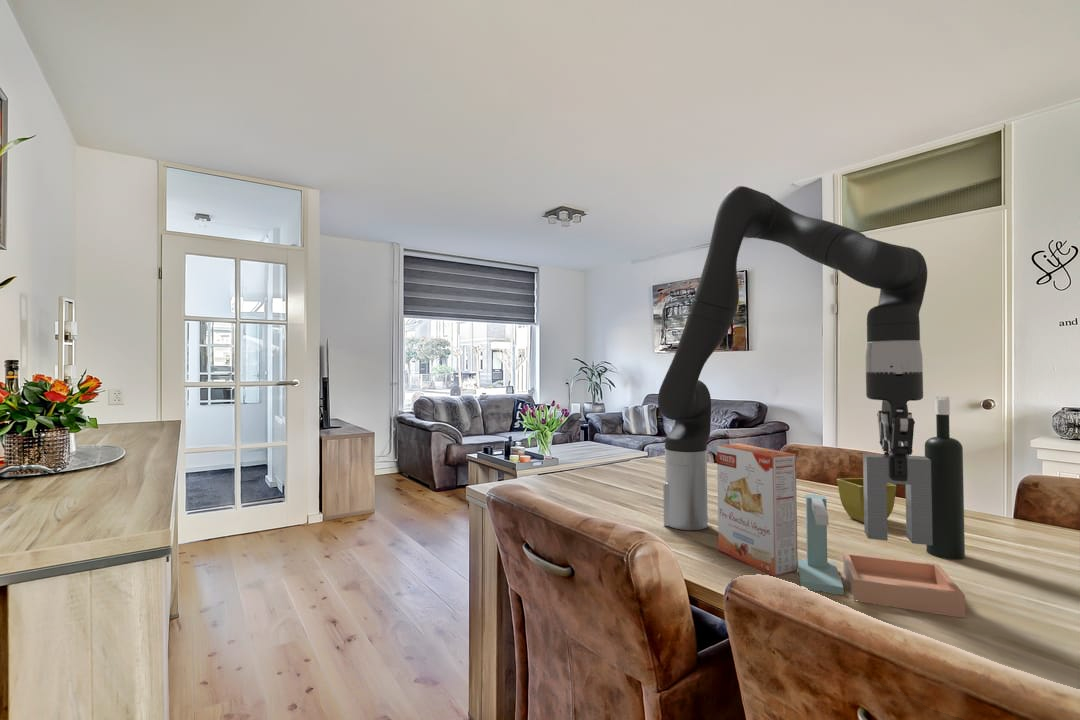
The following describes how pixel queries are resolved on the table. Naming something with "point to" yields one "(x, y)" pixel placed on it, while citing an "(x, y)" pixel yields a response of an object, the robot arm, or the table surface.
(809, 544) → the peg stand
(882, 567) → the tray
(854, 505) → the flower pot
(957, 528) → the wine bottle
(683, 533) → the table surface
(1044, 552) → the table surface
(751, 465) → the cracker box
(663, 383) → the robot arm
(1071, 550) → the table surface
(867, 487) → the grey arch block
